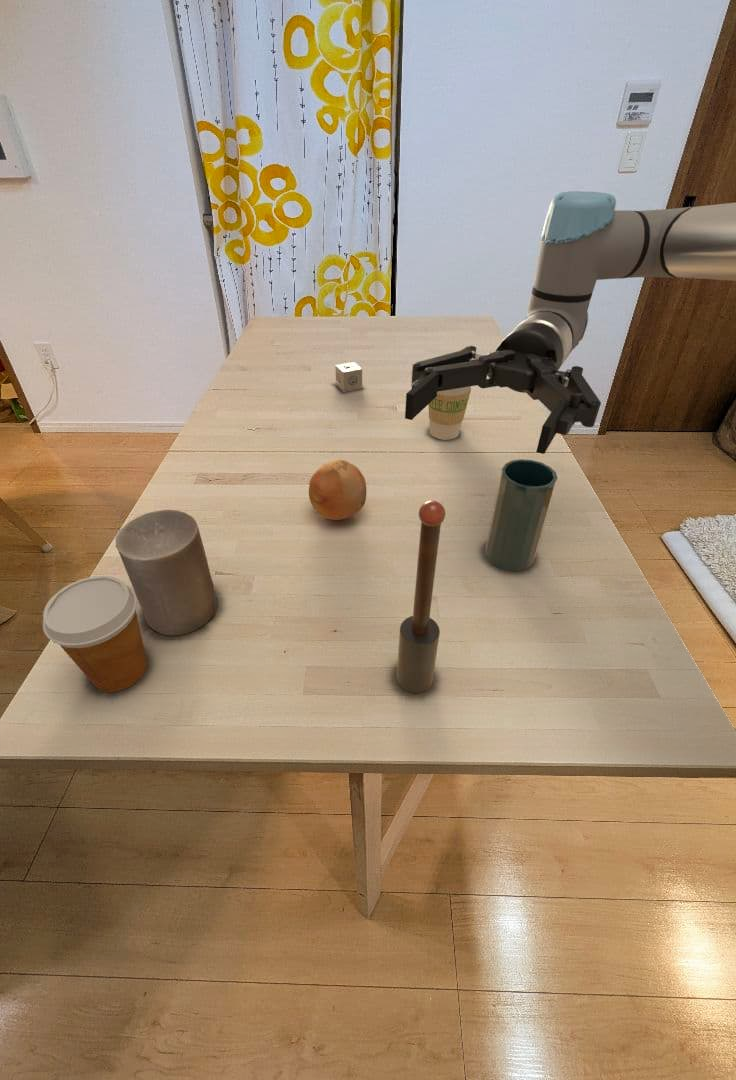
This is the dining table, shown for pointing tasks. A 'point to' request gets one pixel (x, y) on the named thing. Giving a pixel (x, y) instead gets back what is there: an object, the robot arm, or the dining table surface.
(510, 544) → the green cylindrical holder
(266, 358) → the dining table surface
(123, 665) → the disposable coffee cup
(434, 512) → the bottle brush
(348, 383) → the dice cube
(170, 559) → the pillar candle
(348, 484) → the onion
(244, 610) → the dining table surface
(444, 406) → the coffee cup
